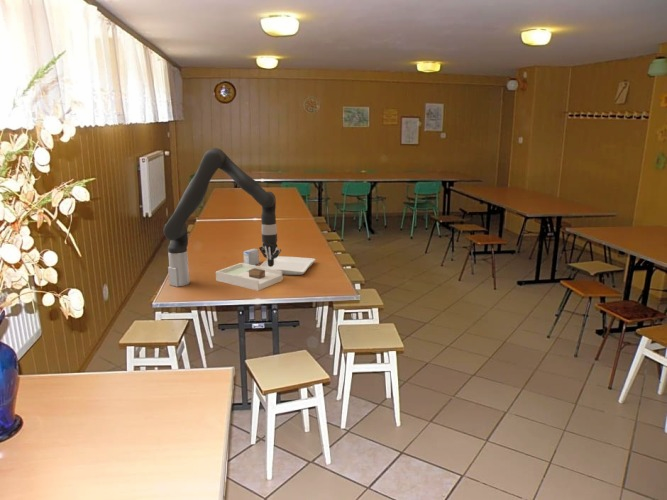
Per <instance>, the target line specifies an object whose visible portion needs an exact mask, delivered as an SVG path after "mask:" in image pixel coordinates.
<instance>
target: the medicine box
mask: <svg viewBox="0 0 667 500" xmlns="http://www.w3.org/2000/svg"><path fill="white" fill-rule="evenodd" d="M259 252H260V249H257V248H251V249H248V250H244V251H243V253H242V254H243V263H245V264H250V265H255V266H258V265H259V264H260V255H259V254H260V253H259Z"/></svg>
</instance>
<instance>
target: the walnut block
mask: <svg viewBox="0 0 667 500" xmlns="http://www.w3.org/2000/svg"><path fill="white" fill-rule="evenodd" d="M249 277H252V278H257V279H261V278H263V277H265V270H261V269H256V268H254V269H251V270H249Z"/></svg>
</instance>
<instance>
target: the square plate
mask: <svg viewBox="0 0 667 500" xmlns="http://www.w3.org/2000/svg"><path fill="white" fill-rule="evenodd" d="M316 260H317V259H316V258H311V257H299V256H298V257H297V256H284V255H283V256H282V255H281V256H279V255H278V257H277V258H275V259H274V265H273V266H272V267H270V266H268V259H267V258H266V260H265V261H263V262H262V263H261V264H260V265H259V266H260V267H264V268H269V269H274V270H279V271H282V275H286V276H299V275H300V276H301V275H303V274H305V273H306V271H307V270H308V269H309V268H310V267H311V266H312V265H313V264H314V263H315V262H316Z"/></svg>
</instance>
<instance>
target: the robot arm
mask: <svg viewBox="0 0 667 500" xmlns="http://www.w3.org/2000/svg"><path fill="white" fill-rule="evenodd" d="M219 169H220V170H222V171H223V172H225V173H226V174H227V175H228V176H229V177H230V178H231V179H232V180H233V181H234V182H235V184H236V185H237V186H239V188H241V189H242V190H243V191H244V192H245V193H247V194H248V195H250V196H251V198H253V199H254V200H255V201H256V203H258V204H259V205H260V206H261V211H262V212H261V214H260V215H261V218H260V219H261V242H262V245H261V246H260V247H258V250H259V252H260V253H261V254H262V255H263V257H264V258H265V259H266V260H267V259H268V266H270V267H272V266H273V265H274V259H275V258H277V257H278V256H279V255H280V254H281V252H282V249H281V248H278V244H277V243H278V230H277V229H278V228H277V218H276V203H277V201H276V200H277V199H276V195H275V194H274V193H273V192H272V191H266V190H265V189H264V188H262V186H261V184H260V183H259V182H257V181H256V180H255V179H254V178H252V177H251V176H250V175H248V174H247V173H246V172H245V171H243V170H242V168H240V167H239V166H237V164H236V163H235V162H233V161H232V159H231V158H230V157H229V156H228V155H227V154H226V153H225V152H224V151H223V150H222V149H220V148H217V147H215V148H214V147H212V148H211V149H209V150H207V151H205V153H204V154H203V156H202V159H201V161H200V163H199V166H198V168H197V170H196V172H195V174H194V176H193V177H192V178H191V180H190V182H189V184H188V185H187V186H186V188H185V190H184V192H183V194H182V196H181V198H180V199H179V201H178V204H177V206H176V208H175V210H174V212H173V213H172V215H171V216H170V217H169V218H168V221H166V223H165V224H164V226H163V230H162V231H163V234H164V235H163V236H164V237H165V238H166V239H167V240H169V241H170V242H169V244H168V246H167V252H168V253H167V254H168V265H169V266H168V267H167V270H168V274H167V275H168V282H169V285H170V286H172V287H176V288H177V287H184V286H188V285H189V284H190V283H191V282H190V281H191V280H190V271H189V259H188V244H189V236H188V233H189V231H188V226H187V223H186V222H187V221H188V219H189V218H190V217H191V216H192V215H193V214H194V212H195V211H196V210H197V209H198V208H199V206H200V205H201V203H202V202H203V200H204V198H205V196H206V194H207V192H208V188H209V184H210V181H211V179H212V177H213V176H214V174H215V173H216V172H217V170H219Z"/></svg>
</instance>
